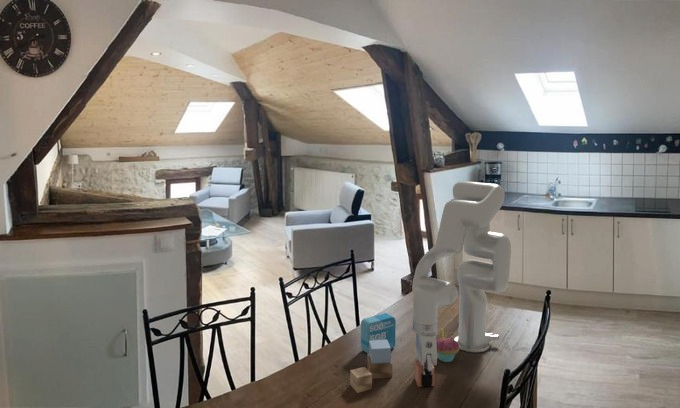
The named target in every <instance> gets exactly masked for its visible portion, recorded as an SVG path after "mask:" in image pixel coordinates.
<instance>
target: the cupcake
mask: <svg viewBox="0 0 680 408" xmlns="http://www.w3.org/2000/svg"><path fill="white" fill-rule="evenodd" d="M441 336H442V337H440V338H436V344H437V357H438V359H439V360H440V361H441V362H444V363H450V362H453V361H454V359H455V355H456V354H457V353H459V351H460V349H459V344H458V343H457V342H456V341H455V340H454V339H453V338H452V337H445V332H444V328H443V327H441Z"/></svg>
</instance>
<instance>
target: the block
mask: <svg viewBox="0 0 680 408" xmlns="http://www.w3.org/2000/svg"><path fill="white" fill-rule="evenodd" d="M349 383H350V386H351V388H352V389H353V390H354V391H355V392H356V393H357V394H359V393H364V392H366V391H370V390H372V389H373V379H372V374H371V373H370V372H369V371H368V368H366V367H365V366H361V367H358V368H354V369H350V370H349Z"/></svg>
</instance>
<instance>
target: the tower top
mask: <svg viewBox="0 0 680 408" xmlns="http://www.w3.org/2000/svg"><path fill="white" fill-rule="evenodd" d="M391 350H392V349H391V347H390V345H389V343H388V340H369V356H370V359H371V362H372V364H376V363H391V361H392V356H391V354H392V351H391Z"/></svg>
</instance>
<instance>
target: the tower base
mask: <svg viewBox="0 0 680 408" xmlns="http://www.w3.org/2000/svg"><path fill="white" fill-rule="evenodd" d="M366 354H367V353H366ZM366 357H367V358H366V359H367V360H366V361H367V362H366V363H367V368H366V369H367V370H368V371H369V372H370V373H371V374H372V380H374V379H386V378H387V379H389V378H393V361H392V360H391V363H376V364H372V362H371V359H370V356H369V354H367V356H366Z"/></svg>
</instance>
